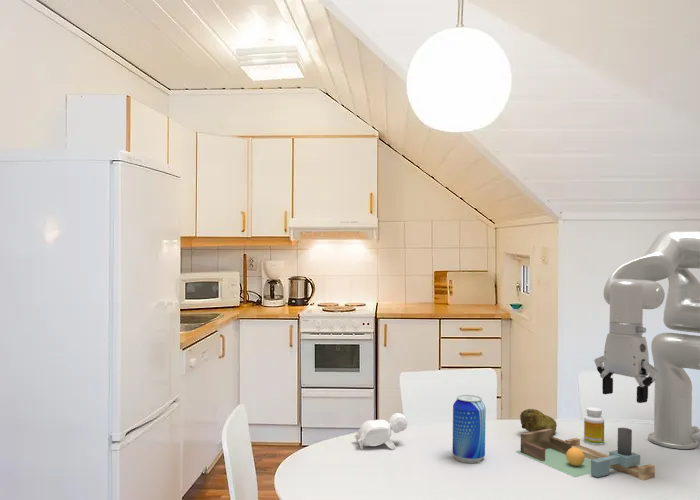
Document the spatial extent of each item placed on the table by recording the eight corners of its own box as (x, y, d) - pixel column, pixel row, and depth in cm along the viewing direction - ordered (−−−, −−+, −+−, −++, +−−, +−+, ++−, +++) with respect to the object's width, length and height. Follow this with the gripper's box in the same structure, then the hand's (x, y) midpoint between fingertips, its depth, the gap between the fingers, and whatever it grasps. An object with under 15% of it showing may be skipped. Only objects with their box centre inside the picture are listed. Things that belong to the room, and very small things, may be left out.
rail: (576, 448, 162) (576, 437, 162) (654, 477, 141) (654, 465, 141) (565, 450, 160) (565, 440, 160) (643, 481, 139) (643, 468, 139)
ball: (574, 461, 151) (574, 444, 151) (588, 466, 148) (588, 449, 148) (562, 463, 149) (562, 446, 149) (576, 469, 145) (576, 452, 145)
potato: (566, 438, 171) (567, 411, 171) (527, 441, 168) (527, 413, 168) (551, 429, 179) (551, 403, 179) (513, 432, 176) (513, 405, 176)
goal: (549, 446, 163) (549, 428, 163) (571, 454, 156) (571, 436, 156) (520, 452, 158) (520, 433, 158) (541, 461, 151) (542, 441, 151)
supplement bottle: (606, 446, 164) (606, 412, 164) (585, 445, 165) (586, 410, 165) (601, 440, 169) (602, 407, 169) (582, 439, 170) (582, 406, 170)
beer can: (490, 458, 153) (491, 397, 153) (474, 466, 147) (474, 403, 147) (463, 450, 159) (464, 392, 159) (446, 458, 153) (446, 397, 153)
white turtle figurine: (366, 462, 158) (416, 439, 160) (355, 434, 157) (405, 411, 160) (360, 451, 166) (407, 430, 169) (350, 424, 165) (397, 403, 168)
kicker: (622, 463, 149) (622, 425, 150) (639, 470, 145) (640, 430, 145) (585, 472, 143) (585, 432, 143) (602, 479, 139) (603, 438, 139)
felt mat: (549, 445, 164) (549, 444, 164) (610, 469, 147) (610, 468, 147) (515, 452, 158) (515, 451, 158) (574, 477, 141) (574, 477, 141)
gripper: (667, 333, 140) (666, 404, 140) (606, 325, 156) (604, 389, 155) (647, 334, 137) (646, 407, 136) (586, 326, 152) (585, 391, 152)
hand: (624, 397), depth 146 cm, fingers open, 9 cm apart
